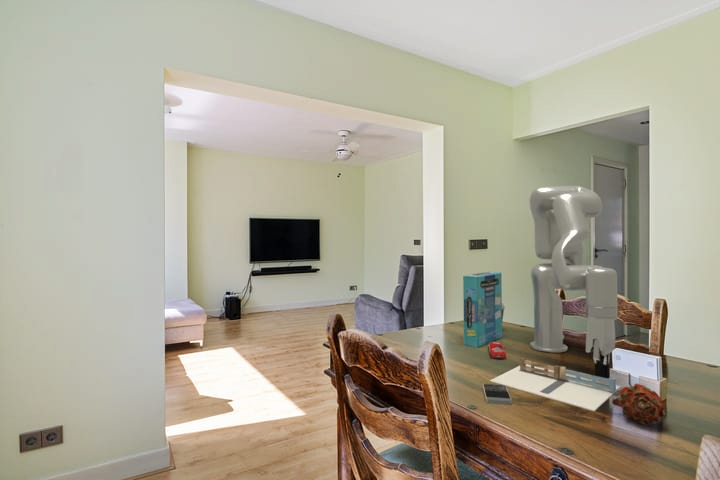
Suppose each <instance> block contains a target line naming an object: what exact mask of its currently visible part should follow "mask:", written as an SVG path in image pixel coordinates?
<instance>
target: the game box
mask: <svg viewBox="0 0 720 480" xmlns="http://www.w3.org/2000/svg"><path fill="white" fill-rule="evenodd" d="M502 274H503V273H502V272H499V271H486V272H479V273H473V274H465V275H463V277H462V278H463V279H462V281H463V283H462V284H463V286H462V287H463V288H462V289H463V291H462V292H463V294H462V295H463V345H464V346H467V345H468V346H467V347H471V346H472V348H476V349H477V348H480V347H483V346H484V345H487V344H489V343H490V342H495V341H496V340H500V339H502V338H503V321H502V302H503V299H502V298H503V296H502V290H503V289H502V285H503V284H502V282H503V281H502V280H503V279H502V276H503V275H502Z"/></svg>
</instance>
